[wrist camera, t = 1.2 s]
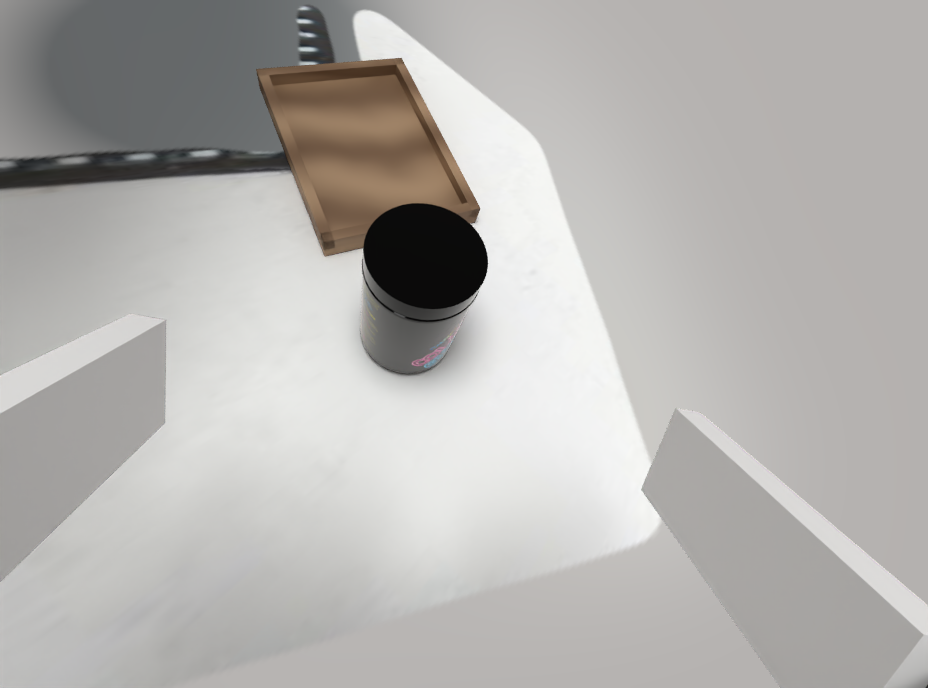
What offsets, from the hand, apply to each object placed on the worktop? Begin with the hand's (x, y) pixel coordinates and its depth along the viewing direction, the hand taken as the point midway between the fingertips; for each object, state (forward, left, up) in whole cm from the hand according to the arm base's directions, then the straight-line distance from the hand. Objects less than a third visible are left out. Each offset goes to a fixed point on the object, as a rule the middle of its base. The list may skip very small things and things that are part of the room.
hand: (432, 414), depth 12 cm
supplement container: (-10, +5, -19) cm, 22 cm away
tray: (-27, +8, -19) cm, 34 cm away
